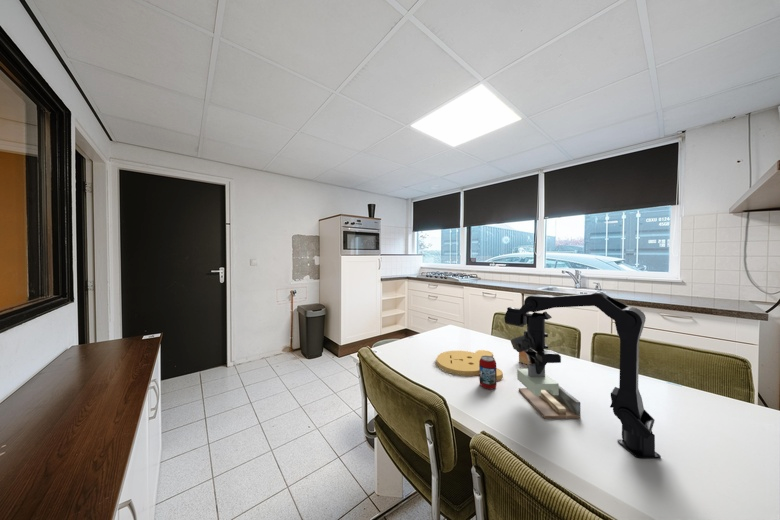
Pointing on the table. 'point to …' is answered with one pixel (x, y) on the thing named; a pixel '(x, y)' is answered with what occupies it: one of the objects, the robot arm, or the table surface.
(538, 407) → the cleat board
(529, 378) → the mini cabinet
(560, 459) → the table surface
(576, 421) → the table surface
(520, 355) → the small box
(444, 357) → the decorative plaque
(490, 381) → the beverage can
